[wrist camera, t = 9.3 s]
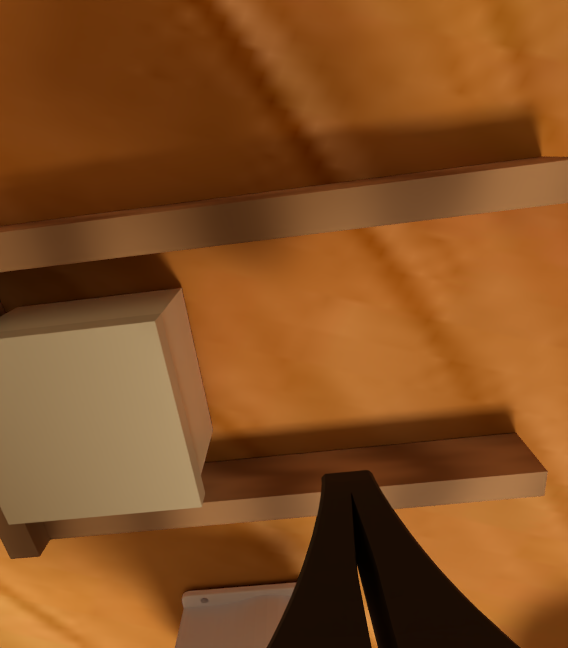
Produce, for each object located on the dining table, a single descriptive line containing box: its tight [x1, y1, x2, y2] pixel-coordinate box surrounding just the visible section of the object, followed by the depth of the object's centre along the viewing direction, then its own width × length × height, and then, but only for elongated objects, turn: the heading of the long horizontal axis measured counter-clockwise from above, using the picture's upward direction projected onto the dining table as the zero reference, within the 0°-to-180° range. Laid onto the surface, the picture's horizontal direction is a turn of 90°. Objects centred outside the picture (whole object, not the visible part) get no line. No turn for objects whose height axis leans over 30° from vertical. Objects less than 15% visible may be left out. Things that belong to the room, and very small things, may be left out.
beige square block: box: [0, 288, 213, 525], centre depth 19 cm, size 9×9×5 cm
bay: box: [0, 157, 568, 559], centre depth 20 cm, size 26×16×4 cm, turn 97°
